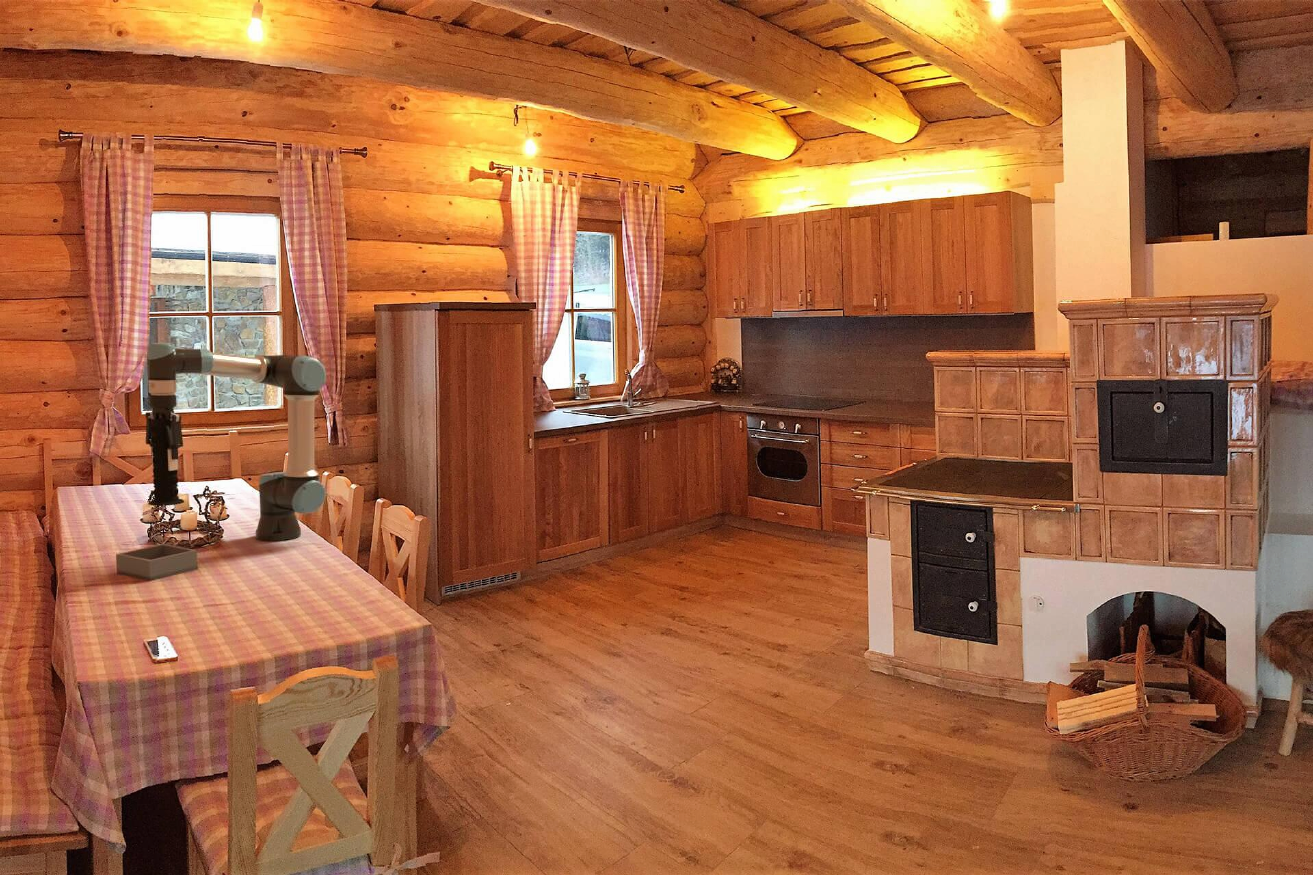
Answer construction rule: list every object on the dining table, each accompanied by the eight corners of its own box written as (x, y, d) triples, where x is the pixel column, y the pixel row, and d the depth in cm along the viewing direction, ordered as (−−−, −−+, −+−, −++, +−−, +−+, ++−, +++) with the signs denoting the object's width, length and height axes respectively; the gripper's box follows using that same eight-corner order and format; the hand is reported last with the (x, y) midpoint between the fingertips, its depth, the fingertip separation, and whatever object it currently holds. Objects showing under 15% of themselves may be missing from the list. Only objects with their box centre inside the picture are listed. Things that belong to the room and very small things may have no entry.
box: (164, 562, 321) (163, 543, 320) (197, 569, 314) (196, 550, 313) (117, 573, 307) (116, 554, 307) (150, 580, 300) (149, 561, 299)
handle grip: (140, 504, 306) (170, 506, 304) (137, 417, 303) (167, 419, 301) (162, 499, 315) (191, 500, 314) (159, 414, 312) (188, 416, 310)
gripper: (130, 392, 307) (133, 467, 310) (172, 396, 298) (175, 473, 300) (152, 391, 314) (155, 464, 316) (195, 395, 304) (197, 470, 307)
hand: (165, 468), depth 308 cm, fingers closed on handle grip, 7 cm apart
